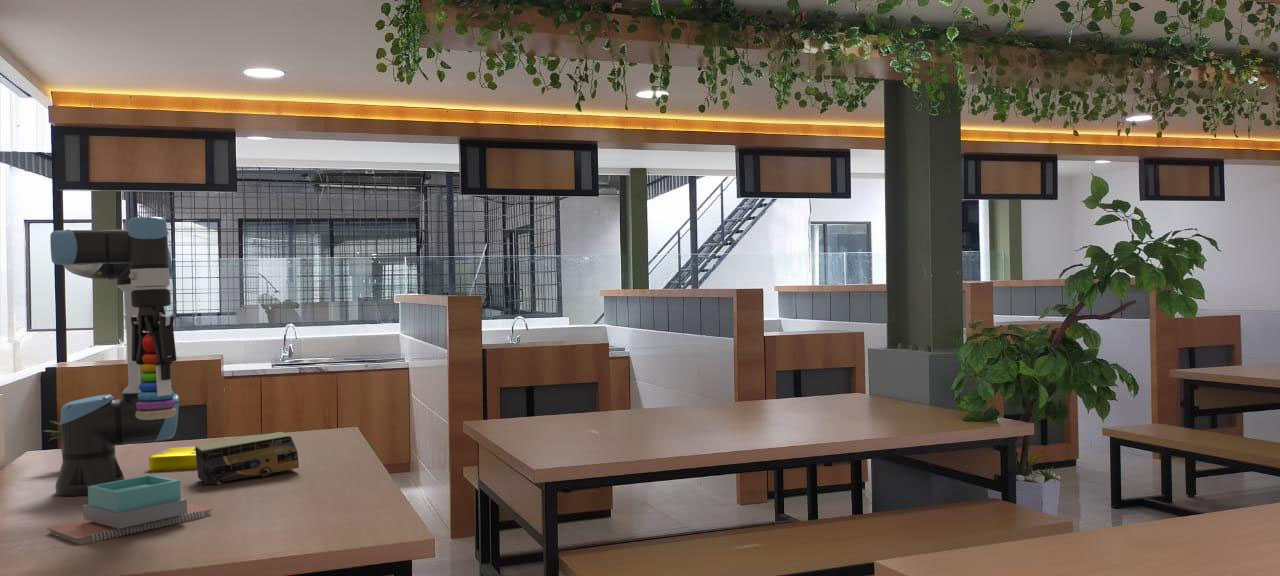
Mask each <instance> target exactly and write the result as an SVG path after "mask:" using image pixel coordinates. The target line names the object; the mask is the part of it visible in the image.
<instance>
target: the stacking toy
mask: <svg viewBox="0 0 1280 576" xmlns="http://www.w3.org/2000/svg"><path fill="white" fill-rule="evenodd" d="M142 346H143V348H144V350H145V351H146V352H147V353H150V354H145V355H144V356H143V357H142V360H143V362H144V363H146V364H143V365H142V366H141V370H142V372H144V373H143V374H141V376H140V379H141V381H143V382H142V383H140V385H139V389H140V391H141V392H139V394H138V399H139V400H140V401H138V402H137V403H136V408H137V409H138V411H137V412H136V414H135V416H136V418H138V419H141V420H154V419H164V418H170V417H173V416H175V415H176V413H177V411H176V409H175V408H173V406H174V405H175V401H174V400H173V399H171V398H173V396H174V394H175V392H174V390H173V382H172V381H171V388H172V390H171V394H172V395H165V396H157V380H156V365H155V363H157V362H158V360H157V356H156V352H155V348H154V343H153V339H152V336H150V335H149V333H148V334H146V335H145V336H144V338H143V340H142Z"/></svg>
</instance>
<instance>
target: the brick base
mask: <svg viewBox="0 0 1280 576" xmlns="http://www.w3.org/2000/svg"><path fill="white" fill-rule="evenodd" d="M181 496H182V494H181V480H179V479H173V478H169V477H164V476H159V475H153V474H146V475H141V476H137V477H131V478H130V477H129V478H126V479H125V478H124V480H119V481H114V482H108V483H103V484H98V485H92V486H88V495H87V497H88V498H87V501H88V502H87V504H82V512H83V513H82V514H83V517H82V518H83V520H88V521H92V522H95V523H99V524H103V525H106V526H110V527H113V528H117V529H121V528H125V527H130V526H134V525H139V524H143V523H148V522H152V521H156V520H161V519H165V518H170V517H174V516H178V515H183V514H187V503H188V501H187V500H188V499H186V498H182V497H181Z"/></svg>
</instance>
